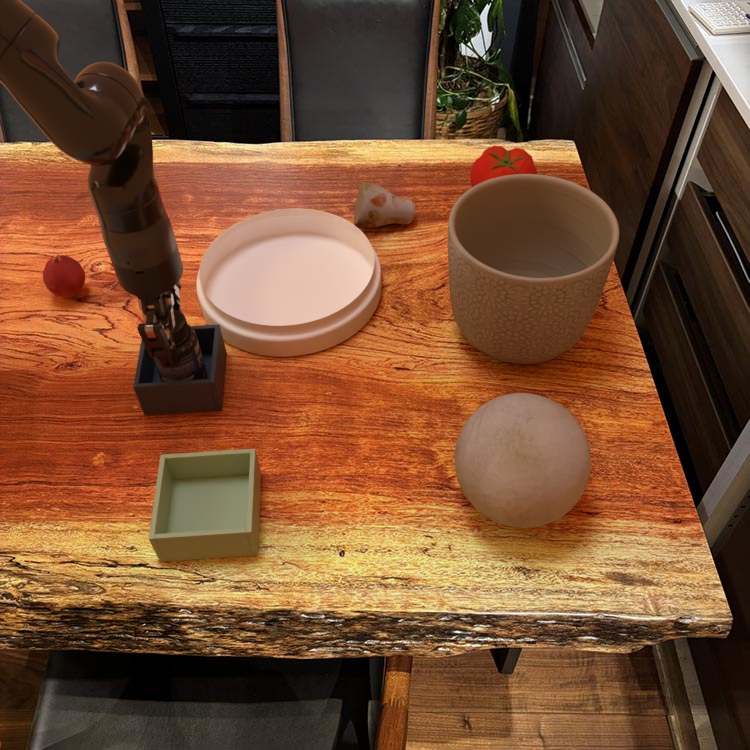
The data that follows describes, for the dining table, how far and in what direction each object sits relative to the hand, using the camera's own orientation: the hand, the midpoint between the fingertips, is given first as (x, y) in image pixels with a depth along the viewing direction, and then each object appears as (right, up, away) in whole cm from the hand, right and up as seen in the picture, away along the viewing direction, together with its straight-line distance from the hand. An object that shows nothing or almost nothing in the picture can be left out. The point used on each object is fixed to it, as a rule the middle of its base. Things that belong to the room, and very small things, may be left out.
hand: (174, 345), depth 103 cm
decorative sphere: (+42, -18, -7) cm, 47 cm away
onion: (-20, +8, +18) cm, 28 cm away
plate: (+13, +9, +17) cm, 23 cm away
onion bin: (+7, -20, -8) cm, 23 cm away
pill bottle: (0, -4, +5) cm, 7 cm away
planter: (+46, +2, +10) cm, 47 cm away
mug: (+27, +21, +27) cm, 44 cm away
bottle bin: (0, -5, +6) cm, 7 cm away
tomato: (+47, +26, +31) cm, 62 cm away
